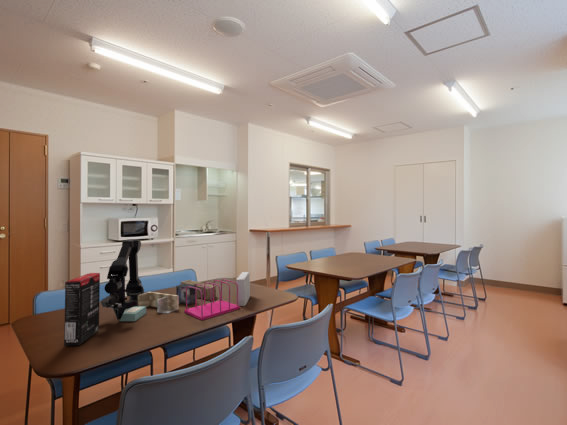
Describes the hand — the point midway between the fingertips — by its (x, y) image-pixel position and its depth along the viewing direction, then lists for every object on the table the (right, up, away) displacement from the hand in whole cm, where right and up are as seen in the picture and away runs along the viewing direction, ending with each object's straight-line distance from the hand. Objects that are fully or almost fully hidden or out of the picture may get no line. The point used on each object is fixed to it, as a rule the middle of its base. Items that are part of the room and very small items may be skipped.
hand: (118, 319), depth 153 cm
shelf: (+11, -1, +20) cm, 23 cm away
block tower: (+26, -2, +49) cm, 56 cm away
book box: (+3, -2, +8) cm, 9 cm away
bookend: (+18, -1, +17) cm, 24 cm away
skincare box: (+58, -1, +36) cm, 68 cm away
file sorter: (+43, -2, +17) cm, 46 cm away
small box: (+23, -1, +33) cm, 40 cm away
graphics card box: (-5, -2, -19) cm, 20 cm away
